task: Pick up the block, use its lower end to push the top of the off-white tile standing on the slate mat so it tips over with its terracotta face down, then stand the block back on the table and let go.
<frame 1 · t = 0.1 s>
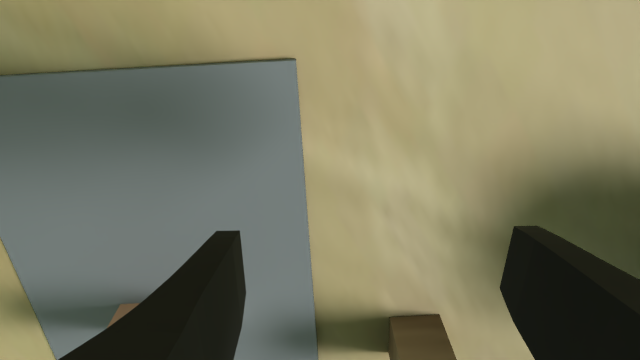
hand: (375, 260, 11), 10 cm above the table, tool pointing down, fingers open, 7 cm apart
block: (413, 334, 26), on the table
mat: (167, 268, 23), on the table
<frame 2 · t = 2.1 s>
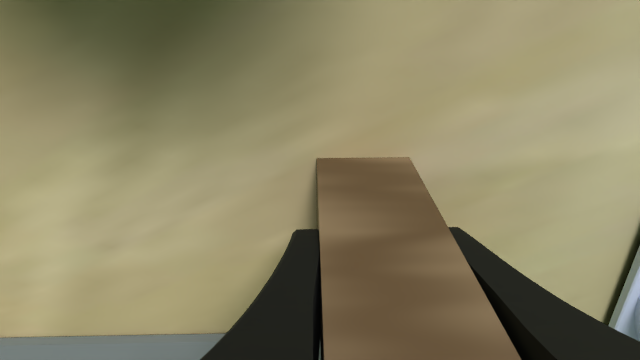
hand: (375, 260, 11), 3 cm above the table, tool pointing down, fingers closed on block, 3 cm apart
block: (361, 198, 14), on the table, touching gripper
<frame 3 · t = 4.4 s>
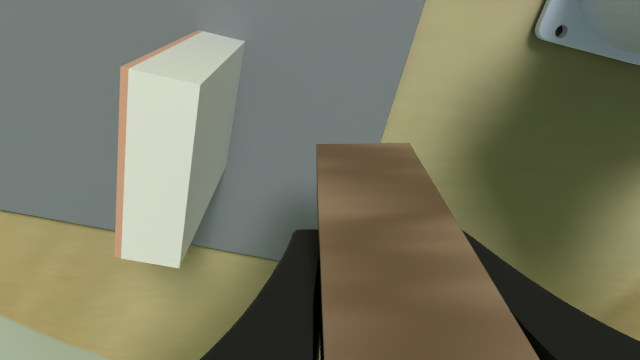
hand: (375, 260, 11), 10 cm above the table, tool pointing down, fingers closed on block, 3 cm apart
block: (361, 185, 14), point 7 cm above the table, touching gripper
mat: (149, 85, 19), on the table
tile: (213, 102, 19), resting on mat
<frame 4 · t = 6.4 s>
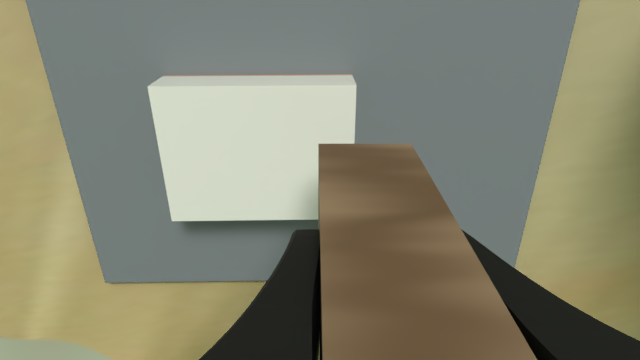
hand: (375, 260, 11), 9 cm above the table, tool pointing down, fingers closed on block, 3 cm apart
block: (362, 185, 14), point 6 cm above the table, touching gripper
mat: (308, 137, 20), on the table
tile: (351, 148, 18), point 1 cm above the table, tilted 90°, touching mat
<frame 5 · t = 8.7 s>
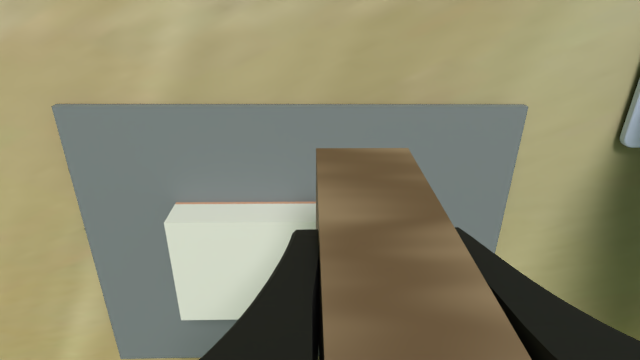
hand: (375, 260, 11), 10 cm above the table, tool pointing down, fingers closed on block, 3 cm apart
block: (359, 189, 14), point 7 cm above the table, touching gripper
mat: (296, 245, 23), on the table
tile: (332, 260, 22), point 1 cm above the table, tilted 90°, touching mat
when the fingers open (5 cm above the table, at t = 10.6 s): block drops 1 cm, on the table.
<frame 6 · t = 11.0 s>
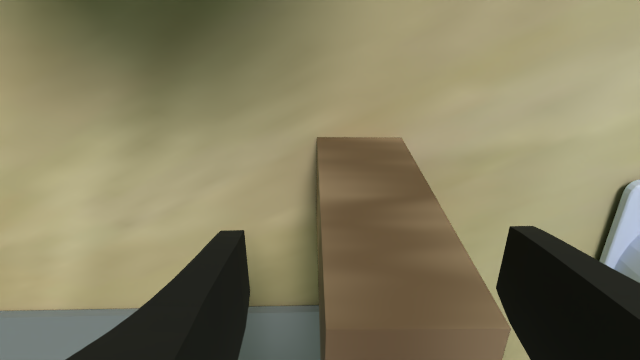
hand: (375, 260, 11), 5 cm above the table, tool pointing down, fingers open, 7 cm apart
block: (357, 175, 16), on the table
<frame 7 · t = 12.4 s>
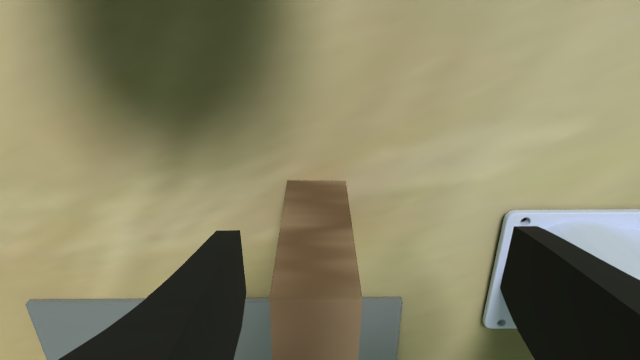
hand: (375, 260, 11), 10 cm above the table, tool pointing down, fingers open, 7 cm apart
block: (316, 206, 22), on the table
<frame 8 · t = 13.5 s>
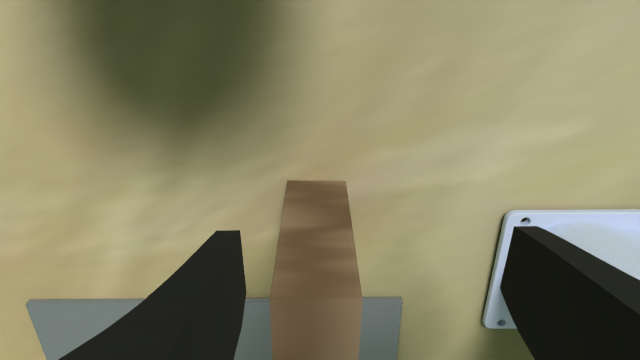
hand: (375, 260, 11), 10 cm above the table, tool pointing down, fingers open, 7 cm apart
block: (316, 206, 22), on the table
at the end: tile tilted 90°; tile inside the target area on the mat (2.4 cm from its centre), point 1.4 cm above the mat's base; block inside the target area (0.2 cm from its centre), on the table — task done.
